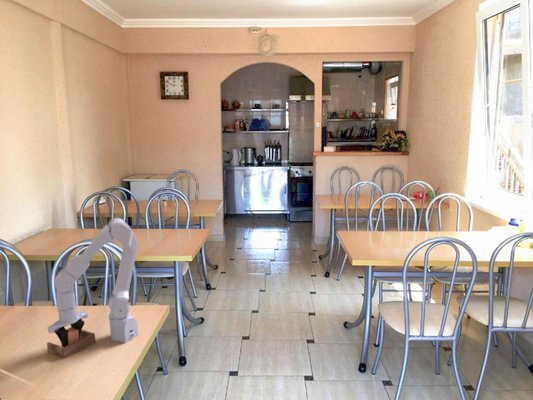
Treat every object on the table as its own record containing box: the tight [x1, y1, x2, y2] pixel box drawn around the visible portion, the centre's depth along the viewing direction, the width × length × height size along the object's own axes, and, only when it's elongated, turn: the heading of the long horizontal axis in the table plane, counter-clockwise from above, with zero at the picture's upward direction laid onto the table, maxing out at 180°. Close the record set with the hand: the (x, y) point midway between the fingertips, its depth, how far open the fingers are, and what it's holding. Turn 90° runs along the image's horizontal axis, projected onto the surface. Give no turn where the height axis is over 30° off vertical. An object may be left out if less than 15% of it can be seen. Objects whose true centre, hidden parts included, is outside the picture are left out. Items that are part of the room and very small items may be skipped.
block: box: [61, 327, 79, 347], centre depth 158 cm, size 4×4×6 cm
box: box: [46, 329, 96, 359], centre depth 158 cm, size 9×13×4 cm
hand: (71, 343), depth 158 cm, fingers closed on block, 4 cm apart
